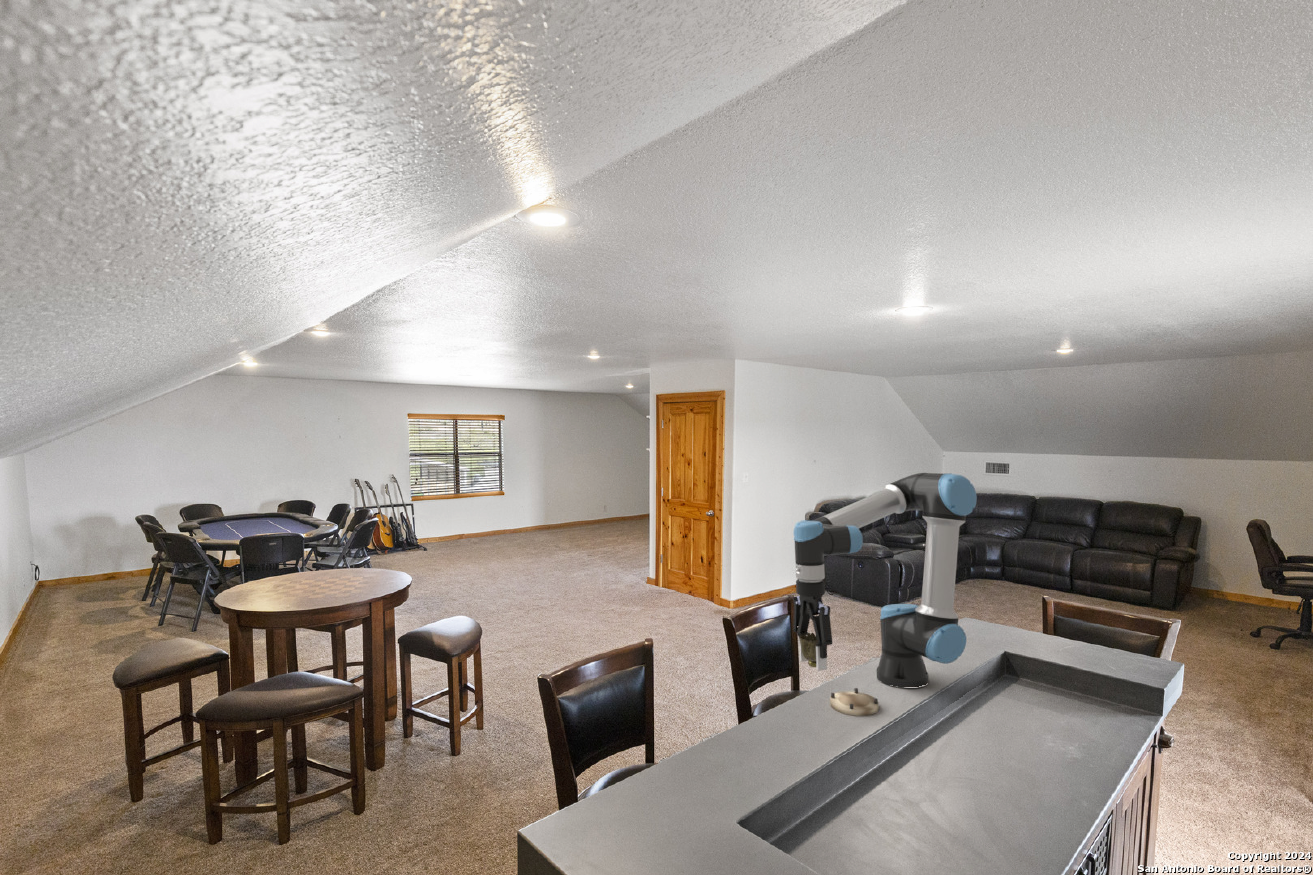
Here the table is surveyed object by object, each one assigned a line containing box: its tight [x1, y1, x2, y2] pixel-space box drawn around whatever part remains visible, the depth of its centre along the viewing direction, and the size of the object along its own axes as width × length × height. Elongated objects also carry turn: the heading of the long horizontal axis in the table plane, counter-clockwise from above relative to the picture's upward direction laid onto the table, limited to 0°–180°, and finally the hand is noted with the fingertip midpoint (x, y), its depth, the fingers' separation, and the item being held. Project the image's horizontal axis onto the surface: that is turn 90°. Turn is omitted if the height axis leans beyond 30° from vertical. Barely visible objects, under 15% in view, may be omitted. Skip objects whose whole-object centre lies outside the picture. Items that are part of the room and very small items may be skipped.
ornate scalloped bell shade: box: [798, 632, 822, 668], centre depth 168 cm, size 8×7×8 cm
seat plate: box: [829, 687, 879, 717], centre depth 177 cm, size 13×13×3 cm
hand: (813, 664), depth 168 cm, fingers closed on ornate scalloped bell shade, 7 cm apart
